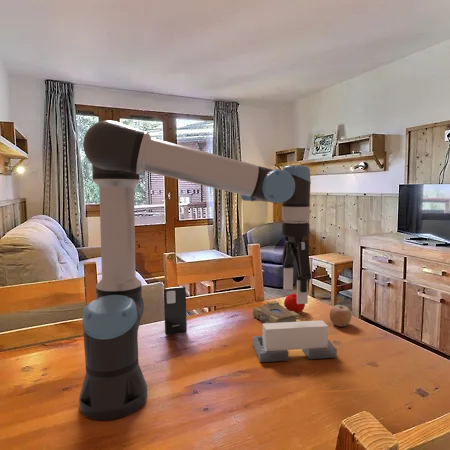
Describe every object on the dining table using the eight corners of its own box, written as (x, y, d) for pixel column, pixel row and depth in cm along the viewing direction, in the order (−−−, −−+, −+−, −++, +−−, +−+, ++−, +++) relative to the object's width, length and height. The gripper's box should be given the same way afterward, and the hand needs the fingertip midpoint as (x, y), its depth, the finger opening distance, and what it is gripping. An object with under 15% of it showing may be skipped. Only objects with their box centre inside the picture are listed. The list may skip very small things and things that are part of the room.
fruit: (327, 320, 129) (328, 299, 128) (349, 321, 128) (349, 299, 127) (331, 329, 121) (331, 306, 120) (353, 329, 120) (354, 306, 119)
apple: (283, 316, 134) (283, 297, 133) (284, 309, 142) (284, 291, 141) (305, 317, 133) (305, 297, 132) (304, 310, 140) (304, 291, 140)
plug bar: (265, 358, 100) (265, 329, 99) (262, 351, 105) (262, 323, 104) (327, 354, 102) (328, 326, 101) (321, 347, 106) (322, 320, 105)
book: (299, 325, 125) (300, 312, 125) (274, 332, 120) (274, 317, 120) (275, 313, 138) (275, 300, 138) (251, 318, 133) (251, 305, 133)
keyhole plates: (260, 362, 99) (260, 353, 99) (252, 344, 110) (252, 336, 110) (336, 357, 101) (336, 348, 101) (321, 339, 113) (321, 332, 112)
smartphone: (186, 332, 120) (185, 286, 119) (187, 333, 119) (185, 286, 118) (164, 335, 118) (163, 288, 117) (165, 336, 117) (163, 289, 116)
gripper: (325, 226, 87) (323, 309, 90) (295, 218, 112) (294, 283, 114) (295, 226, 87) (294, 311, 89) (272, 218, 111) (271, 284, 113)
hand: (294, 295), depth 102 cm, fingers open, 13 cm apart
